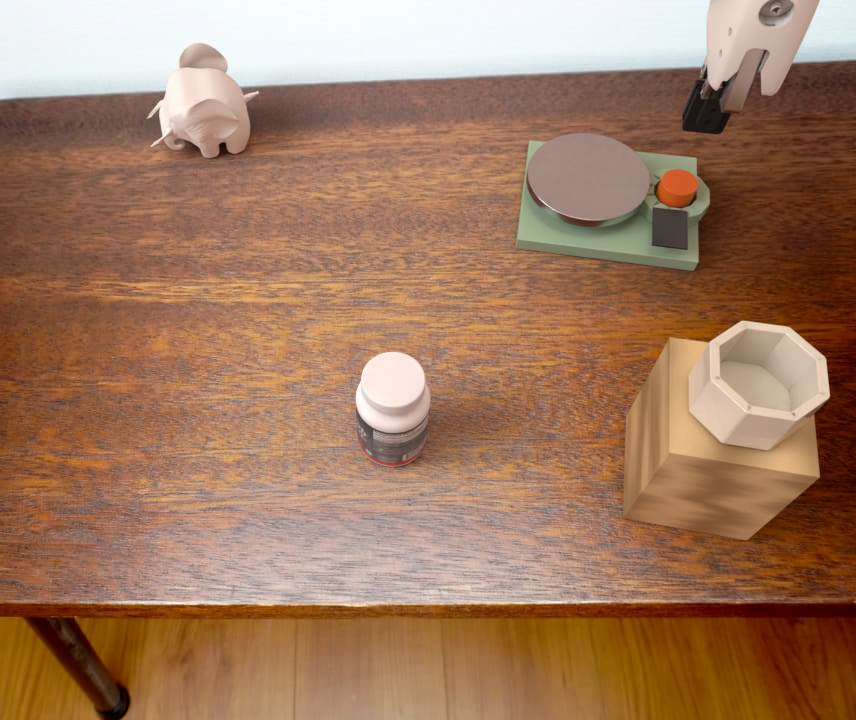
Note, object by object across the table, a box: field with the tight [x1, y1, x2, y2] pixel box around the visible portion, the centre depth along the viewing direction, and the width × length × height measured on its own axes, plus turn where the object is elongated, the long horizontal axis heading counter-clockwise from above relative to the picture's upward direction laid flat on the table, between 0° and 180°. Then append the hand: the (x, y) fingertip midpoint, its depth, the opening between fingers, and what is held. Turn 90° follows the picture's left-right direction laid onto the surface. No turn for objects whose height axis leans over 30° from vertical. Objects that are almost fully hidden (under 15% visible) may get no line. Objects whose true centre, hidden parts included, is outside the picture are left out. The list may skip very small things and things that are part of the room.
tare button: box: [656, 169, 698, 208], centre depth 75 cm, size 3×3×2 cm
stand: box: [622, 336, 821, 541], centre depth 59 cm, size 9×9×12 cm
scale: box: [515, 139, 711, 272], centre depth 77 cm, size 17×13×3 cm
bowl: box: [689, 320, 831, 450], centre depth 52 cm, size 7×7×4 cm
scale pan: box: [526, 132, 688, 250], centre depth 76 cm, size 14×12×1 cm
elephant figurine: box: [146, 42, 260, 159], centre depth 83 cm, size 10×12×9 cm
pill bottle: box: [354, 351, 432, 468], centre depth 63 cm, size 6×6×10 cm
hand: (700, 125), depth 69 cm, fingers closed
